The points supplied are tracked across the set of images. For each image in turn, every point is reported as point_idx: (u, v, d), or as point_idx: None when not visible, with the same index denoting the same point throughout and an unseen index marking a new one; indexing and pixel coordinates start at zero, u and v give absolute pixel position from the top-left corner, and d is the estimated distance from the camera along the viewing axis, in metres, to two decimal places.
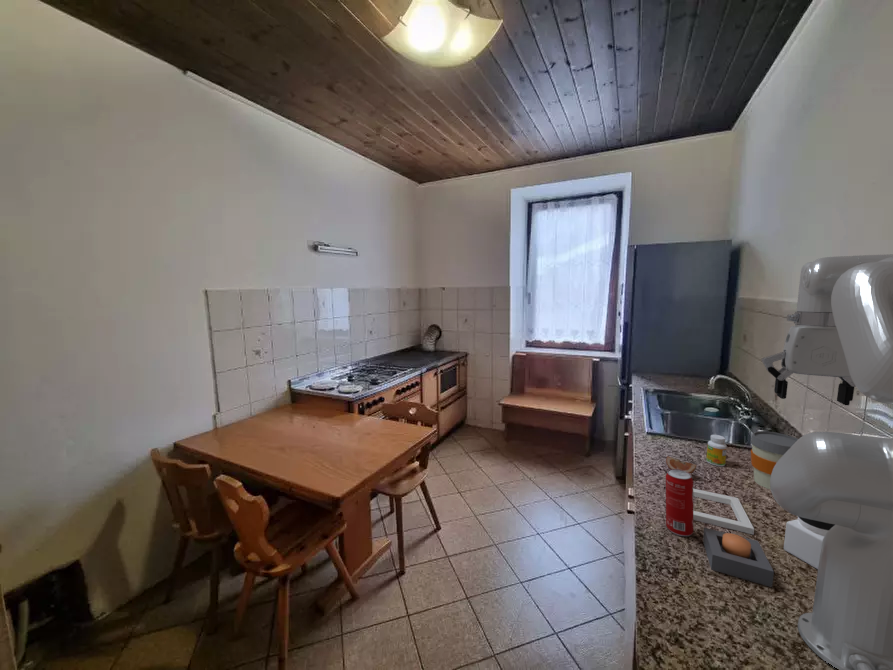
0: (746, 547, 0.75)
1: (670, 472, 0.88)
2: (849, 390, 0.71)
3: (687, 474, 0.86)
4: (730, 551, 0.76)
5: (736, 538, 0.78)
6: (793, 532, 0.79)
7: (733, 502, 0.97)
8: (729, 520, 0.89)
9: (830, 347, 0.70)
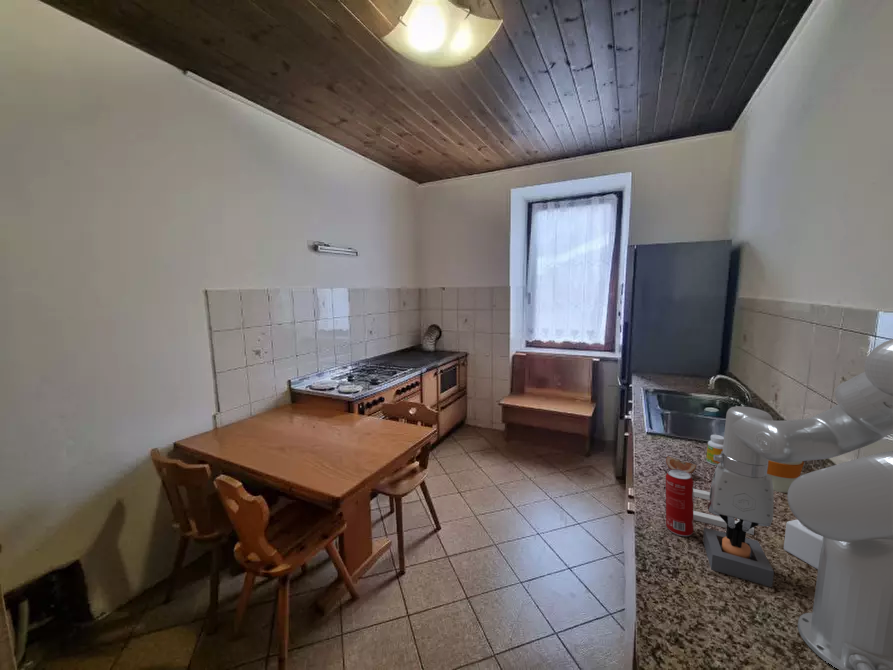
0: (746, 551, 0.75)
1: (670, 472, 0.88)
2: (741, 534, 0.75)
3: (687, 474, 0.86)
4: None
5: None
6: (793, 532, 0.79)
7: None
8: None
9: (750, 495, 0.73)
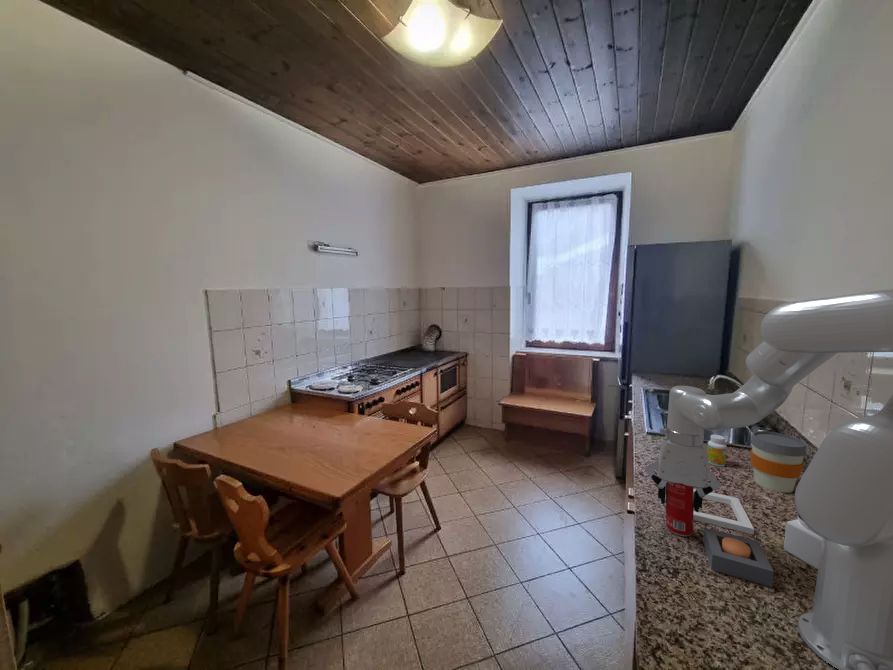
0: (746, 551, 0.75)
1: None
2: (698, 500, 0.84)
3: None
4: None
5: (735, 542, 0.78)
6: (793, 532, 0.79)
7: (733, 502, 0.97)
8: (729, 520, 0.89)
9: (688, 462, 0.83)
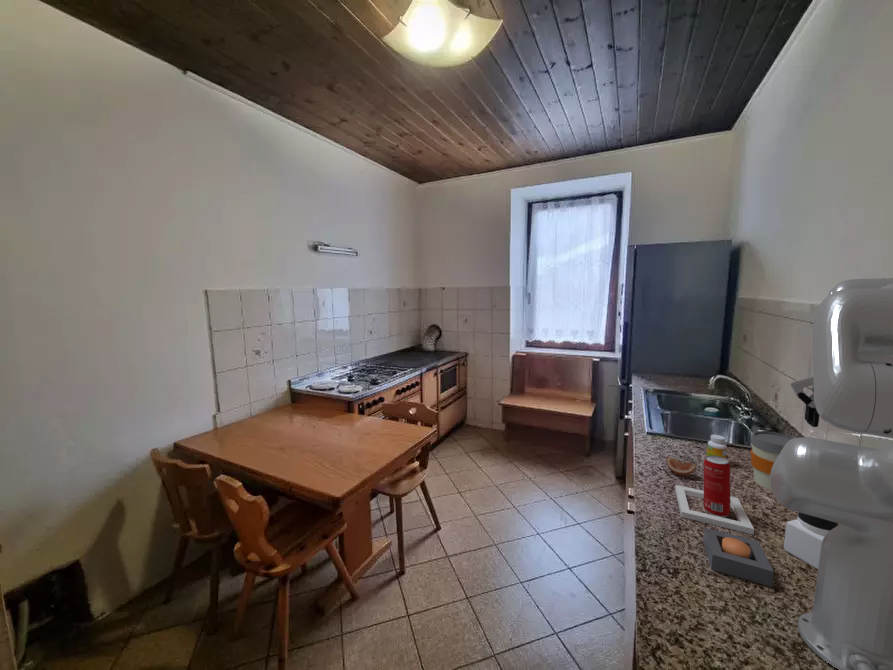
0: (746, 551, 0.75)
1: (708, 458, 0.95)
2: None
3: (724, 460, 0.94)
4: None
5: (735, 542, 0.78)
6: (793, 532, 0.79)
7: (733, 502, 0.97)
8: (729, 520, 0.89)
9: None
